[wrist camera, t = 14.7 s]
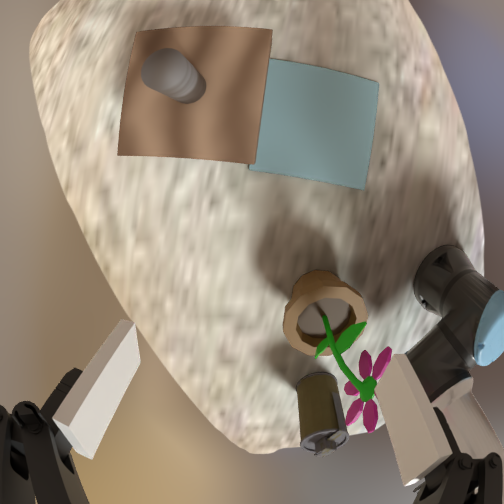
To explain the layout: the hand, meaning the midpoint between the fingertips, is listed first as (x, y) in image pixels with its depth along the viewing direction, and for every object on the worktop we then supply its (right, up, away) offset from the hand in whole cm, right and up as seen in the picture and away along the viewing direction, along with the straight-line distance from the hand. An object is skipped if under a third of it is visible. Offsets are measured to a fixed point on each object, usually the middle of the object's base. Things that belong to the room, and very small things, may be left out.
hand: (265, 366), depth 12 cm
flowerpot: (+12, -2, +40) cm, 42 cm away
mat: (+10, +27, +29) cm, 40 cm away
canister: (+16, -28, +49) cm, 58 cm away
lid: (-7, +25, +18) cm, 32 cm away
